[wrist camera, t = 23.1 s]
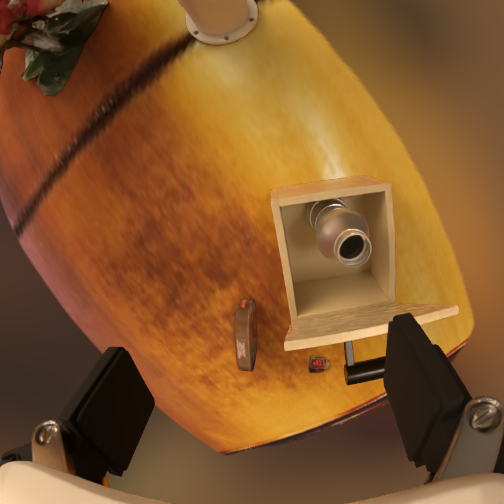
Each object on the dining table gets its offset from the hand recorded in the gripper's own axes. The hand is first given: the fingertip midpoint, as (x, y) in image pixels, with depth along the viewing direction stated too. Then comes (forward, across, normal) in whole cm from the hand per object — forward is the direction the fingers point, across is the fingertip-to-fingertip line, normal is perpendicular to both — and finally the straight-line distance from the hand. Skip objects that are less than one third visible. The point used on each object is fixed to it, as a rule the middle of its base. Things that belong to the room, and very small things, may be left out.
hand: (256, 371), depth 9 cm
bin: (+40, -8, +8) cm, 42 cm away
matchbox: (+40, -4, +37) cm, 55 cm away
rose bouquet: (+40, +39, -49) cm, 75 cm away
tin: (+40, +9, +24) cm, 48 cm away
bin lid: (+20, -8, +12) cm, 25 cm away
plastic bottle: (+40, -8, +4) cm, 40 cm away
